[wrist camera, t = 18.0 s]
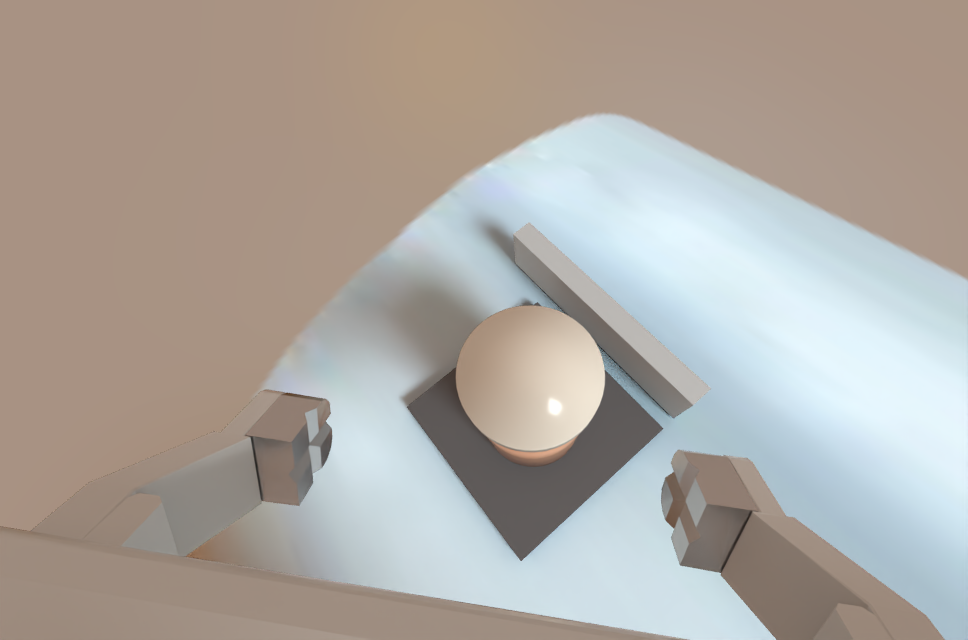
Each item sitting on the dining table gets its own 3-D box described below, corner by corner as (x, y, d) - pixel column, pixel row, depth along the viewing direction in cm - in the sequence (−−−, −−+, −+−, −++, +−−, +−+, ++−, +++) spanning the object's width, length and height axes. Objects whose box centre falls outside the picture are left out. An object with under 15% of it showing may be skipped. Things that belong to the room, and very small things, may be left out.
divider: (673, 418, 29) (693, 405, 26) (515, 263, 35) (513, 234, 31) (689, 403, 29) (711, 388, 26) (529, 252, 35) (529, 222, 32)
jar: (528, 493, 28) (523, 483, 18) (460, 411, 30) (426, 367, 21) (606, 421, 29) (637, 377, 20) (534, 348, 31) (533, 280, 22)
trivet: (521, 559, 27) (521, 561, 26) (409, 409, 31) (406, 406, 31) (660, 430, 29) (663, 428, 28) (537, 306, 33) (537, 302, 33)
